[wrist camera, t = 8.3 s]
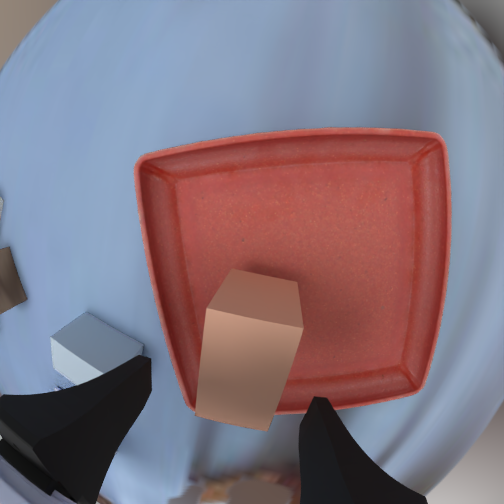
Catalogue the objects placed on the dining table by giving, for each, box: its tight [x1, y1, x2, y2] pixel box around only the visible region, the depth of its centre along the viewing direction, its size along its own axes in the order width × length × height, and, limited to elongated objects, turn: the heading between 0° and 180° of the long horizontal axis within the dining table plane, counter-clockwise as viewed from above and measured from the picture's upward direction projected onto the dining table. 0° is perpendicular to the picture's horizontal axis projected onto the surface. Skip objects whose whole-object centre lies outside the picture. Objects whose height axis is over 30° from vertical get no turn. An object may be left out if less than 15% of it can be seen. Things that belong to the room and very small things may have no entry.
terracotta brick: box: [195, 269, 304, 431], centre depth 12 cm, size 6×4×5 cm, turn 170°
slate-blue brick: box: [51, 312, 144, 385], centre depth 18 cm, size 6×4×5 cm, turn 69°
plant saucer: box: [134, 127, 452, 415], centre depth 16 cm, size 18×18×3 cm
